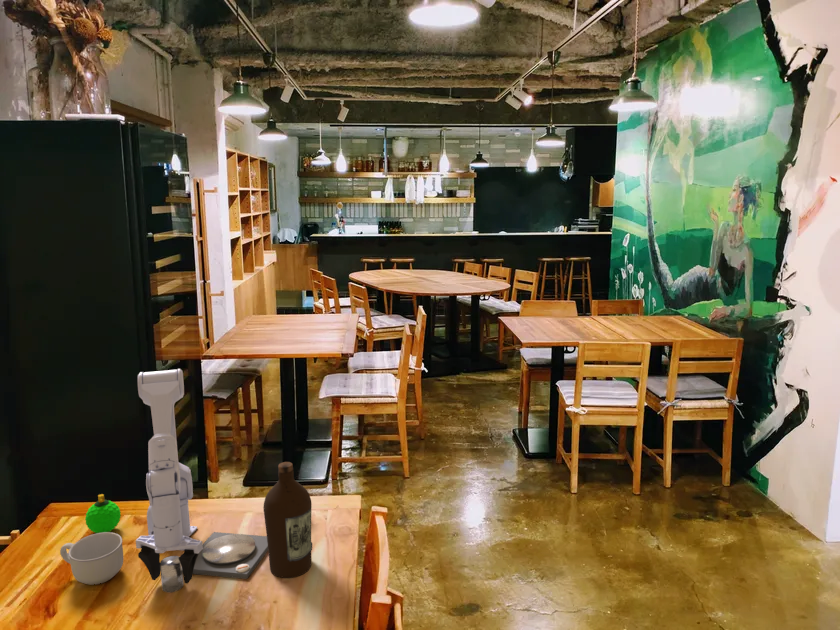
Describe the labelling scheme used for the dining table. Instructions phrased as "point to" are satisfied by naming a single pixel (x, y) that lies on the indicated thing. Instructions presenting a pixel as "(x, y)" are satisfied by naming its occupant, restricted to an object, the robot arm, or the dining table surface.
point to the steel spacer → (171, 574)
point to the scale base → (237, 568)
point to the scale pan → (228, 549)
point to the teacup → (95, 557)
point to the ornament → (102, 515)
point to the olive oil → (288, 525)
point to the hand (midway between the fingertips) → (172, 579)
